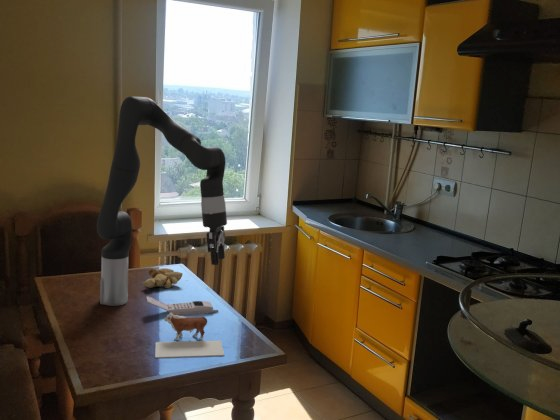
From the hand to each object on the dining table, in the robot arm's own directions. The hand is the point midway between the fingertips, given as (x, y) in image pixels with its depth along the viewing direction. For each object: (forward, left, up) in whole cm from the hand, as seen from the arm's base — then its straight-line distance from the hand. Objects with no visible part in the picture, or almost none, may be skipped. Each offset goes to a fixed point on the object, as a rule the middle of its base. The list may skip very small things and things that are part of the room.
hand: (218, 261), depth 169 cm
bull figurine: (-10, -3, -25) cm, 27 cm away
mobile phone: (-10, +19, -25) cm, 33 cm away
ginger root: (-17, +49, -25) cm, 58 cm away
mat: (-9, -11, -24) cm, 28 cm away
